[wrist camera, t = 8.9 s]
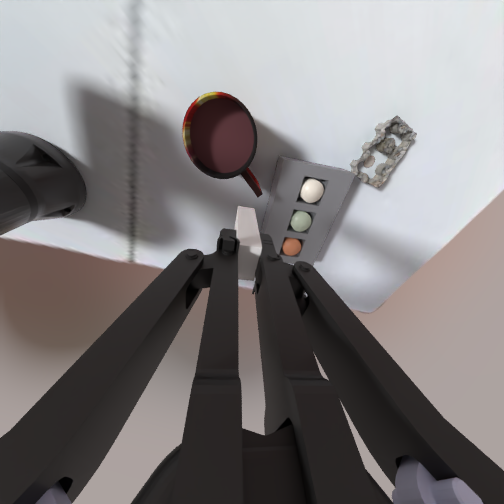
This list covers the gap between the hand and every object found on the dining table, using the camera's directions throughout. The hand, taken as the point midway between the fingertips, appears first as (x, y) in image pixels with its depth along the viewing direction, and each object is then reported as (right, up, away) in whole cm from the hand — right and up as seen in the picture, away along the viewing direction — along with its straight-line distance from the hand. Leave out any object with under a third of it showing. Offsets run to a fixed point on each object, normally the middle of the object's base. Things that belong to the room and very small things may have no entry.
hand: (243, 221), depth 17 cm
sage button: (+11, +5, +24) cm, 27 cm away
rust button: (+10, 0, +28) cm, 30 cm away
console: (+11, +6, +26) cm, 29 cm away
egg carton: (+26, +17, +20) cm, 37 cm away
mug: (-2, +18, +18) cm, 25 cm away
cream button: (+12, +10, +21) cm, 26 cm away
